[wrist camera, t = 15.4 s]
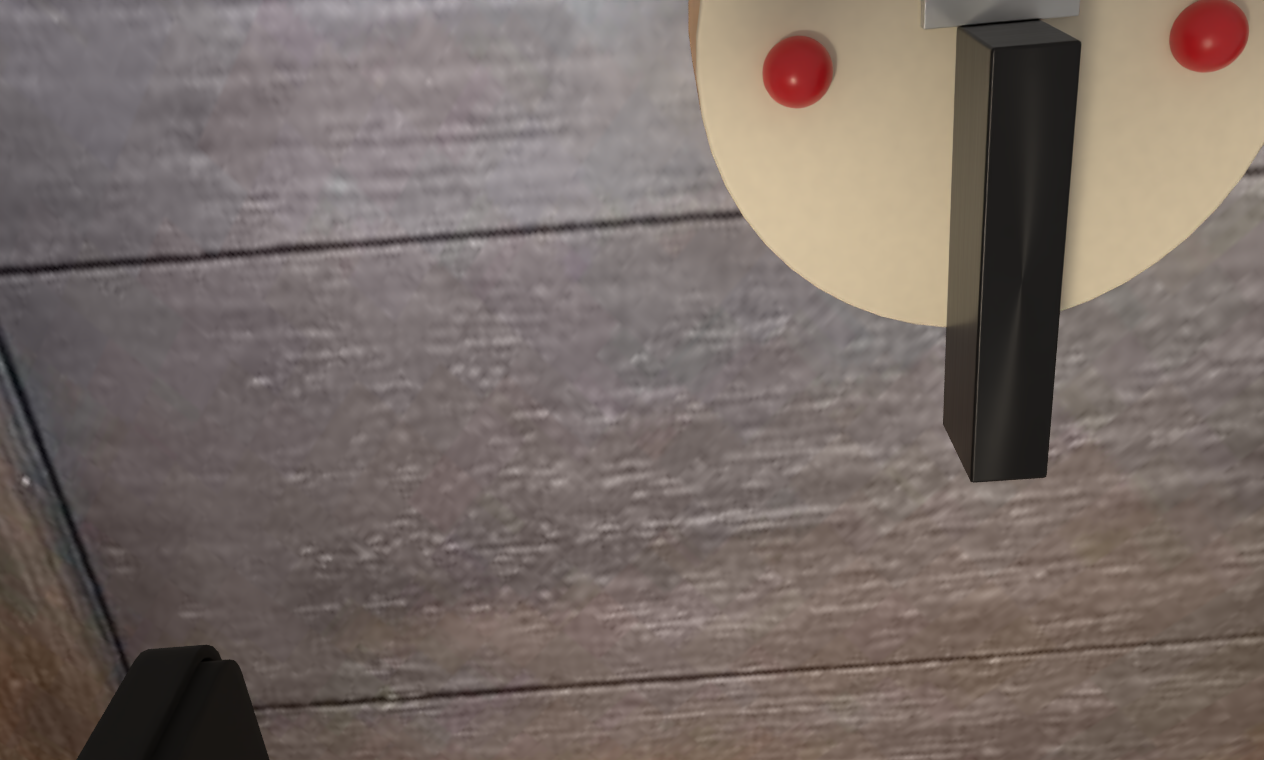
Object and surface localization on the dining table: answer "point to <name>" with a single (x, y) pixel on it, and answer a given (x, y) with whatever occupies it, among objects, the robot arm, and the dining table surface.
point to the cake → (923, 136)
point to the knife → (1006, 227)
